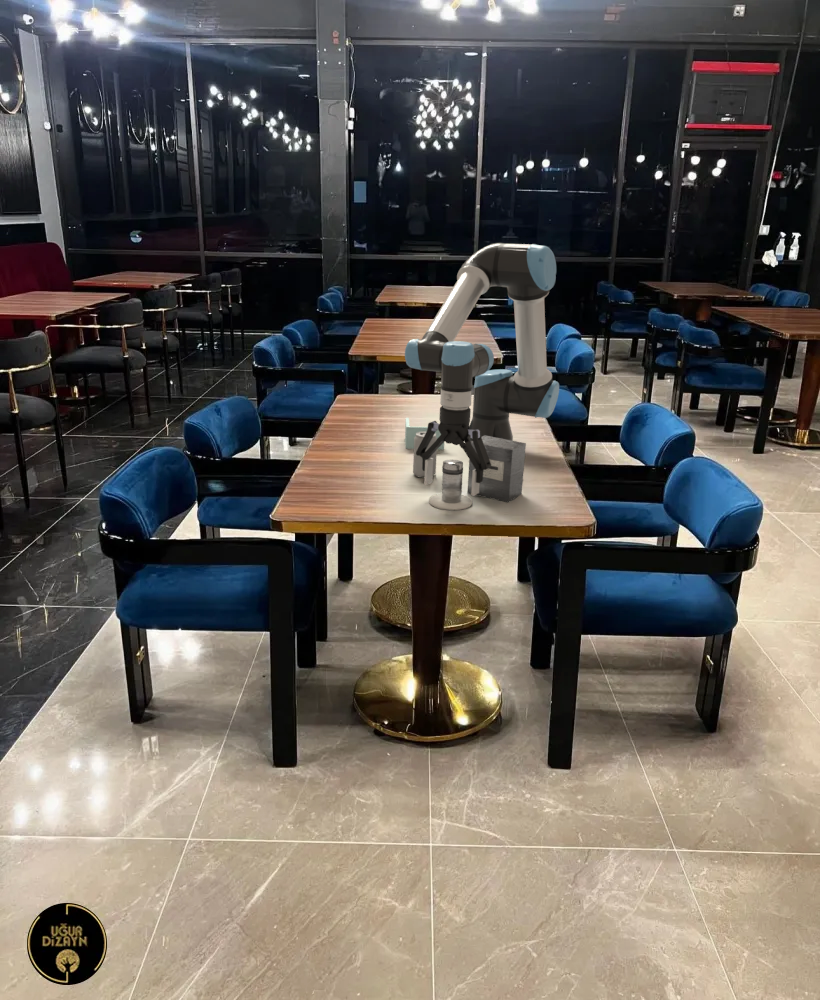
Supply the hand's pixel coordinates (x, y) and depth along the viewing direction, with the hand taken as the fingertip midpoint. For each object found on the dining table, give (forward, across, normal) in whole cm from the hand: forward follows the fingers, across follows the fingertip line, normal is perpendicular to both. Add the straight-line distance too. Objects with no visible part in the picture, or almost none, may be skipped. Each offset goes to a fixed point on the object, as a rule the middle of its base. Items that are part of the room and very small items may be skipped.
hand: (451, 488), depth 197 cm
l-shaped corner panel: (+5, -34, +42) cm, 54 cm away
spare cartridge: (+3, 0, 0) cm, 3 cm away
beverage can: (+4, -17, +15) cm, 23 cm away
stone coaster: (+4, 0, 0) cm, 4 cm away
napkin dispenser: (+4, +6, +13) cm, 15 cm away
